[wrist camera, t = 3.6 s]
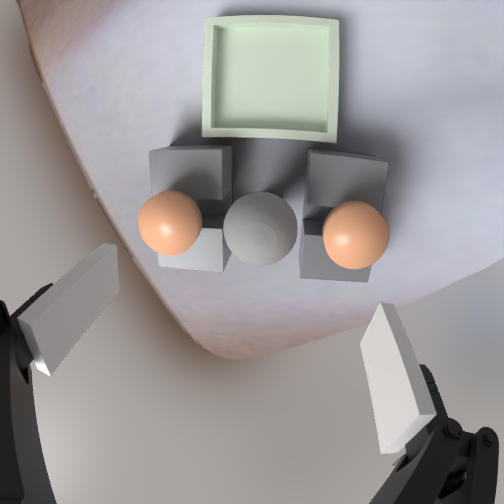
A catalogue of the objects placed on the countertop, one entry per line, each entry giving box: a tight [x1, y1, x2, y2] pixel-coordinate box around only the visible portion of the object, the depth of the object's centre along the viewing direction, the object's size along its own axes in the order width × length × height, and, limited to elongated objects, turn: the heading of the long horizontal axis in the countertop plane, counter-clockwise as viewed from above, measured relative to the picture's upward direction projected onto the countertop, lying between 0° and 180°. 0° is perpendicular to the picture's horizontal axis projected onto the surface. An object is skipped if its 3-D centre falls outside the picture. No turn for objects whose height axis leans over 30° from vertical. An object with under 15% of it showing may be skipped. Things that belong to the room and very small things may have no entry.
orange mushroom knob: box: [322, 200, 389, 269], centre depth 23 cm, size 5×5×6 cm
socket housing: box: [149, 145, 388, 282], centre depth 26 cm, size 11×20×4 cm, turn 89°
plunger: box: [138, 190, 202, 256], centre depth 25 cm, size 5×5×6 cm
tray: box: [202, 15, 339, 143], centre depth 22 cm, size 12×12×2 cm
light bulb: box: [223, 192, 297, 266], centre depth 24 cm, size 6×6×10 cm
